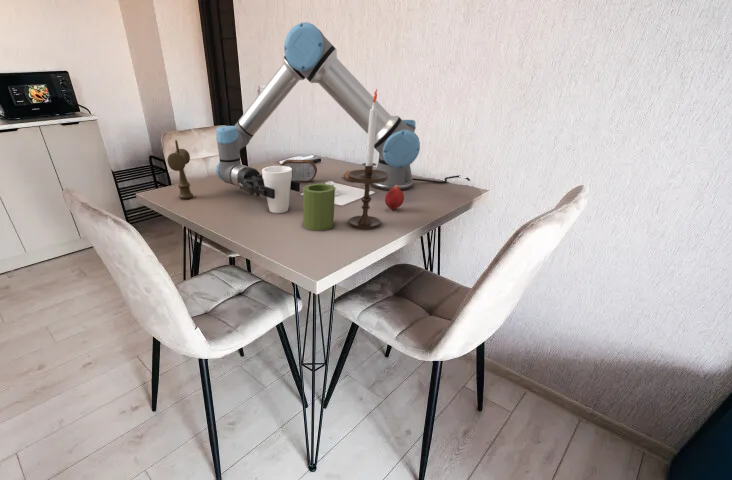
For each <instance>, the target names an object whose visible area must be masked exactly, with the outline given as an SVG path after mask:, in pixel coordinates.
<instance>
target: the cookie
mask: <svg viewBox="0 0 732 480" xmlns="http://www.w3.org/2000/svg"><path fill="white" fill-rule="evenodd" d="M355 170H356V169H351V170H347V171H345V172H344V173H343V174H342V177H343V179H344V180H345V181H346V182H352V181H351V180H349V178H348V177H349V173H350V172H352V171H355Z"/></svg>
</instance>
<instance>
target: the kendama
mask: <svg viewBox="0 0 732 480" xmlns="http://www.w3.org/2000/svg"><path fill="white" fill-rule="evenodd" d="M174 144H175V151H174V152H172V153H170V154H168V156H167V165H168V167H169V168H170V169H171V170H173V171H174V172H175V171H176V172H178V175H179V180H178V184H177V187H178V188H179V195H178V198H179V199H182V200H187V199H191V198H194V194H193V192H192V191H191V188H190V186H191V183H190V182H189V181H188V178H187V175H186V173H185V170H184V169H185V167H186V165H187V164H189V163H190V160H191V155H190V152H189V151H188V150H187V149H184V148H180V147H179V143H178V140H177V139H175V143H174Z"/></svg>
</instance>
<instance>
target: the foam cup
mask: <svg viewBox="0 0 732 480" xmlns="http://www.w3.org/2000/svg"><path fill="white" fill-rule="evenodd" d="M261 174H262V178H263V180H264V185H265V187H268V188H271V189H274V190H275V198H274V199H272V198H269V197H266V200H267V205H268V206H267V207H268V210H269V212H270V213H274V214H283V213H287V212H288V211H289V207H290V205H289V204H290V196H291V190H290V186H291V178H292V168H290V167H287V166H281V165H271V166H266V167H263V168H262V169H261Z"/></svg>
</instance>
